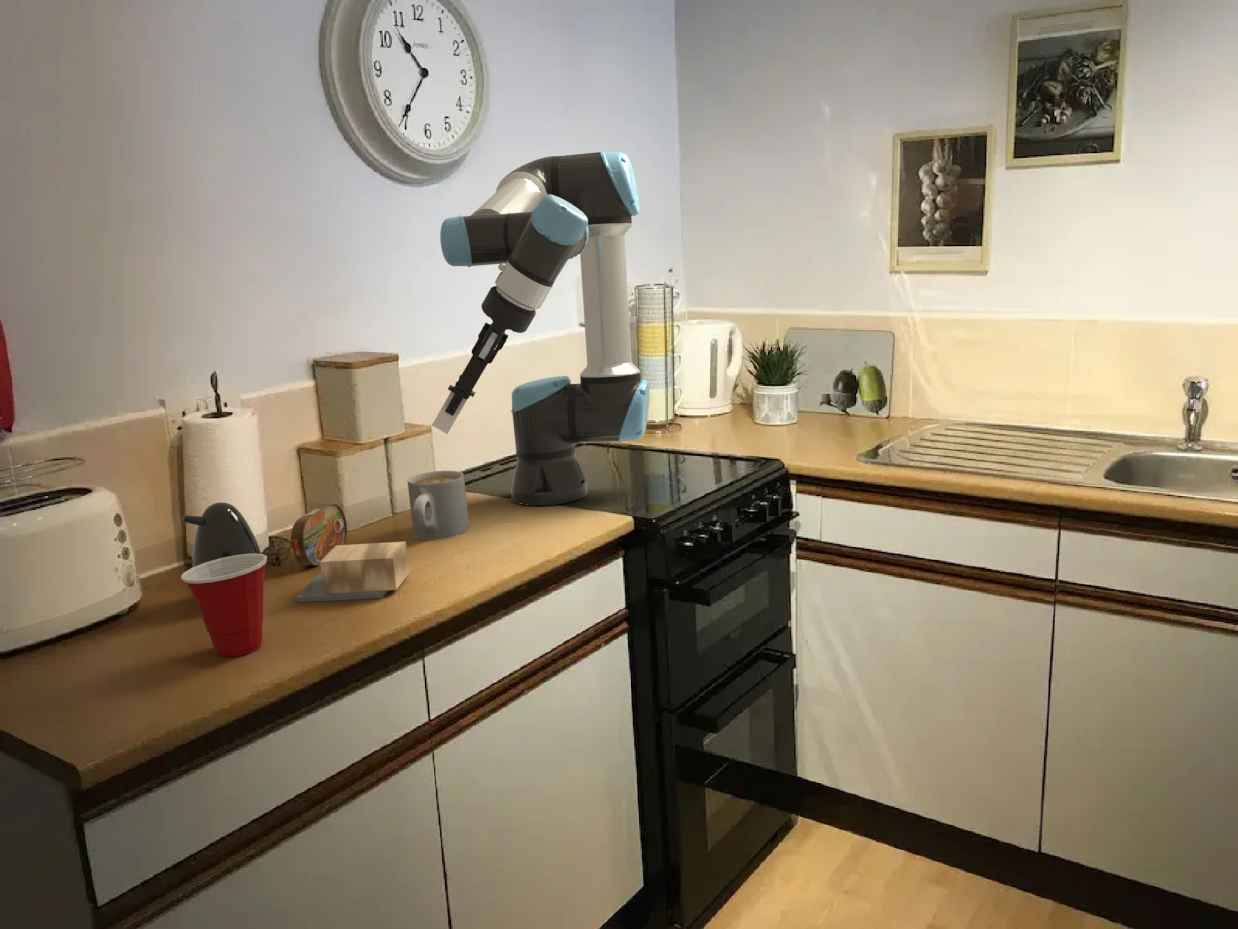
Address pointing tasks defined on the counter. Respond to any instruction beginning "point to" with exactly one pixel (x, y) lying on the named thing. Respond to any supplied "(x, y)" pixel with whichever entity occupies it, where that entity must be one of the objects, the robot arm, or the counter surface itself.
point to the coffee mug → (438, 504)
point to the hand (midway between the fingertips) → (440, 428)
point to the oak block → (364, 567)
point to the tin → (318, 534)
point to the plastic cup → (230, 601)
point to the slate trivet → (317, 593)
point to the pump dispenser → (221, 534)
